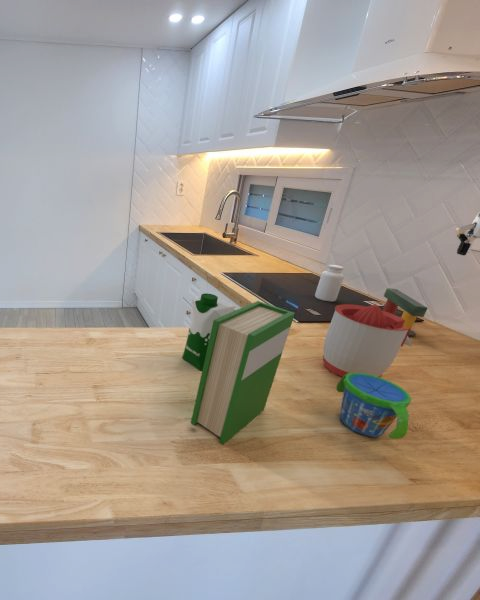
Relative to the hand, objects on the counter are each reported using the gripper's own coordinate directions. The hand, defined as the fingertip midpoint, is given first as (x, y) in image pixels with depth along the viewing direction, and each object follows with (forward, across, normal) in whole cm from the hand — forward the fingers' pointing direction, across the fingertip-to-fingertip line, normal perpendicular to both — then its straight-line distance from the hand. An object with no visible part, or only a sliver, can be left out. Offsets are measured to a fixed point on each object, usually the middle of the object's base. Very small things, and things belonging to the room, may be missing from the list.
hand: (479, 256), depth 110 cm
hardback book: (+28, -76, -78) cm, 113 cm away
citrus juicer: (+28, -42, -45) cm, 68 cm away
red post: (+28, -14, +6) cm, 32 cm away
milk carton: (+28, -82, -57) cm, 104 cm away
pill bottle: (+28, -30, +22) cm, 47 cm away
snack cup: (+28, -49, -70) cm, 90 cm away
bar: (+20, -14, 0) cm, 25 cm away
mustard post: (+28, -14, -6) cm, 32 cm away
